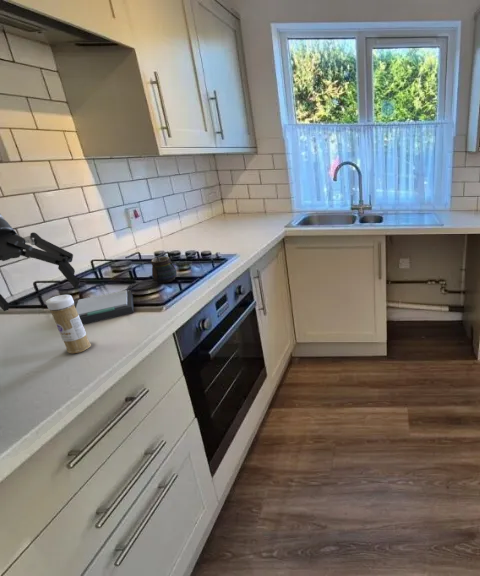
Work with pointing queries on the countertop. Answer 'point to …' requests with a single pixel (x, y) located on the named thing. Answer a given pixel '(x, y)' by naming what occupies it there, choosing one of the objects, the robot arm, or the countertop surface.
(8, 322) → the countertop surface
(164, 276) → the mate gourd
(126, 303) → the scale
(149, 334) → the countertop surface
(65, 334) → the sprinkles bottle
